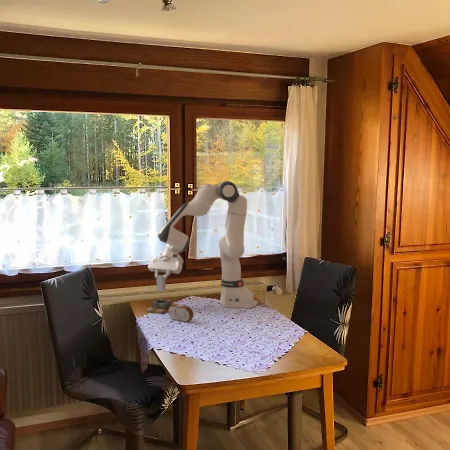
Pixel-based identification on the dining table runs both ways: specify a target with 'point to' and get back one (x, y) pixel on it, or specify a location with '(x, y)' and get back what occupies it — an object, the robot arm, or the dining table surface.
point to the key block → (160, 283)
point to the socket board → (159, 306)
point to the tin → (180, 312)
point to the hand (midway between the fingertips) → (160, 277)
